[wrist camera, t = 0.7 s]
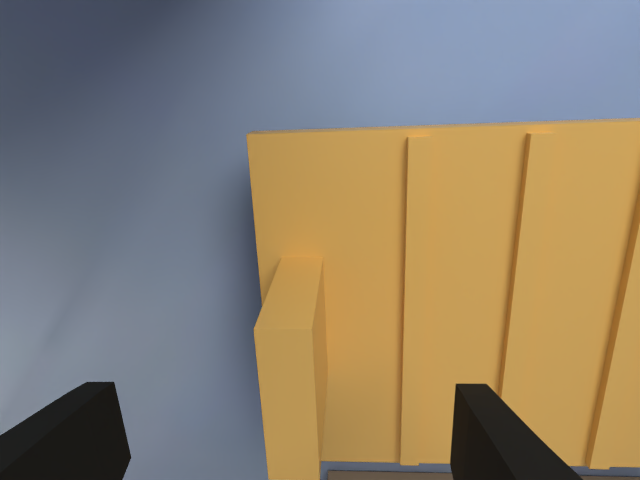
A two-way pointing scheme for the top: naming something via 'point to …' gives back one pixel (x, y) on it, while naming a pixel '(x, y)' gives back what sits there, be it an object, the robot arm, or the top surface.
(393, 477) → the mat
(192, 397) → the top surface
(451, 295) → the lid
